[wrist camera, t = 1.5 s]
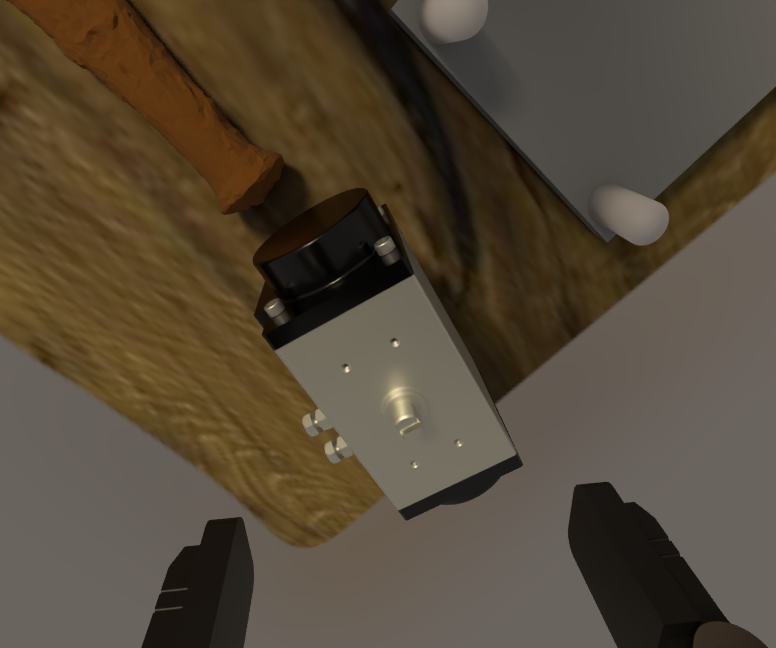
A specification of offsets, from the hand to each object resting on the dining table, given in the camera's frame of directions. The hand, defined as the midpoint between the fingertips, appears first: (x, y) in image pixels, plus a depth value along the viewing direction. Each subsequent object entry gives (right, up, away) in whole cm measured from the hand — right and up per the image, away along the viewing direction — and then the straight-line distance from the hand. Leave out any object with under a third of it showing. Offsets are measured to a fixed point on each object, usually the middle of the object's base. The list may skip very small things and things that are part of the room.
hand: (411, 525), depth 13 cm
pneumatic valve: (-1, +7, +14) cm, 16 cm away
